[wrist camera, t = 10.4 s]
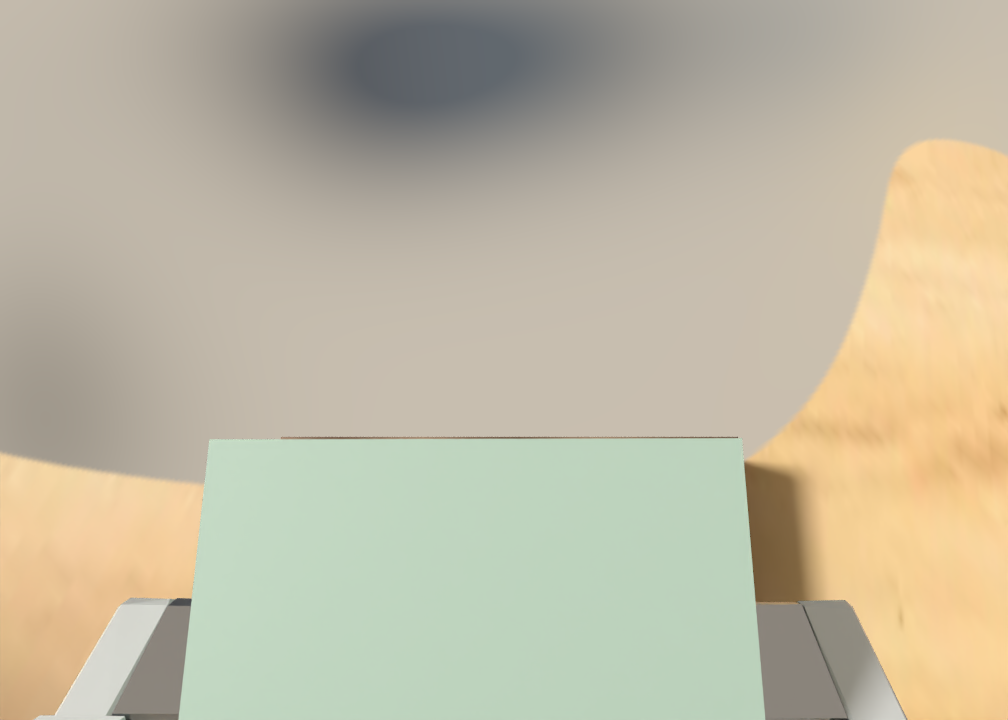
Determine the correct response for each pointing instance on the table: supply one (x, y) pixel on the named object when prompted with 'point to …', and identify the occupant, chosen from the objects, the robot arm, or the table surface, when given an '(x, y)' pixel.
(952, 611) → the table surface
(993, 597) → the table surface
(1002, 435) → the table surface
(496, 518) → the sage block
